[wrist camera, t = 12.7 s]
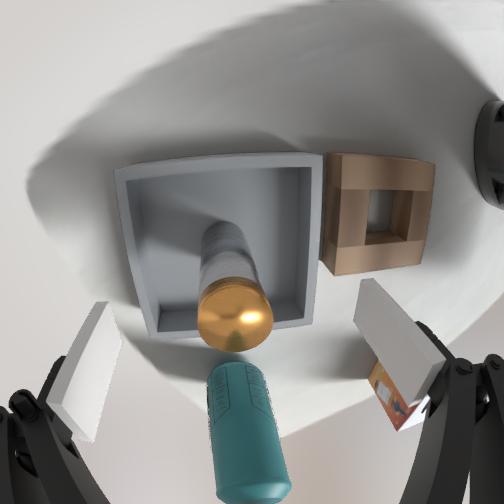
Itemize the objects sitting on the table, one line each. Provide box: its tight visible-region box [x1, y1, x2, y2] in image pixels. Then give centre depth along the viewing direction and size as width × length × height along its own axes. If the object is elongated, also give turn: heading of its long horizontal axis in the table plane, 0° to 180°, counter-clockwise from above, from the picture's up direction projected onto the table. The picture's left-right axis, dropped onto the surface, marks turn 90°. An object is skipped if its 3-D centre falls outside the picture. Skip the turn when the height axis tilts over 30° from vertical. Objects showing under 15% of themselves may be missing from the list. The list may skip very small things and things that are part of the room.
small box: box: [368, 359, 430, 432], centre depth 29 cm, size 8×6×10 cm
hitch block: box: [322, 152, 435, 276], centre depth 22 cm, size 10×10×3 cm
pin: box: [197, 222, 274, 352], centre depth 17 cm, size 4×4×10 cm
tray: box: [113, 152, 323, 340], centre depth 21 cm, size 14×14×4 cm
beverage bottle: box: [206, 362, 292, 504], centre depth 21 cm, size 6×7×20 cm
